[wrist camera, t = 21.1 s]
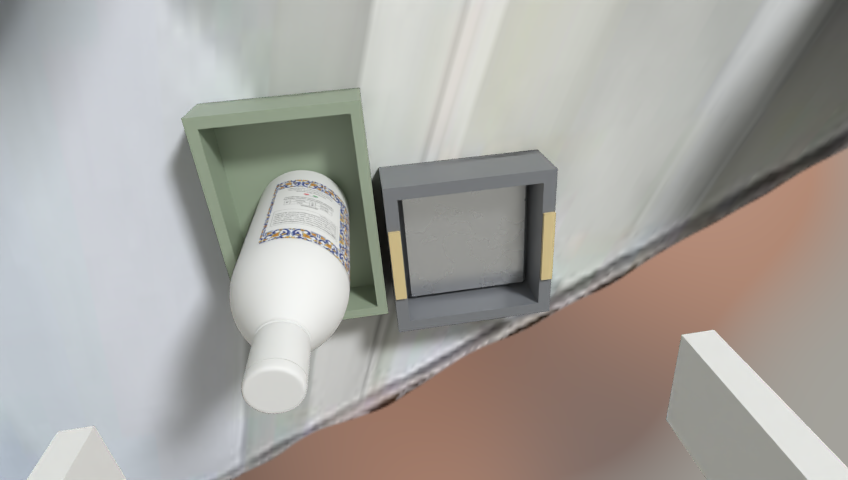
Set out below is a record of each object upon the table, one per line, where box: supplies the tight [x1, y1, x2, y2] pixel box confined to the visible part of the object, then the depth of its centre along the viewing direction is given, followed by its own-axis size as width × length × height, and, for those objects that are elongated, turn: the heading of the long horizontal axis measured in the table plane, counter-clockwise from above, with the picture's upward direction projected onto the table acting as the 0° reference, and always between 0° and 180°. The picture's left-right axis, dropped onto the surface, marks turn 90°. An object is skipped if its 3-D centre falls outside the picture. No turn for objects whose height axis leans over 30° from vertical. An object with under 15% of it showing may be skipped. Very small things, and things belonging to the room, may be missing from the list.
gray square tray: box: [379, 150, 558, 332], centre depth 42 cm, size 13×13×5 cm
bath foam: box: [229, 170, 350, 414], centre depth 32 cm, size 7×7×20 cm
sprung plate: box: [402, 185, 526, 297], centre depth 43 cm, size 10×10×1 cm
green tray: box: [181, 88, 388, 320], centre depth 39 cm, size 12×18×4 cm, turn 5°
